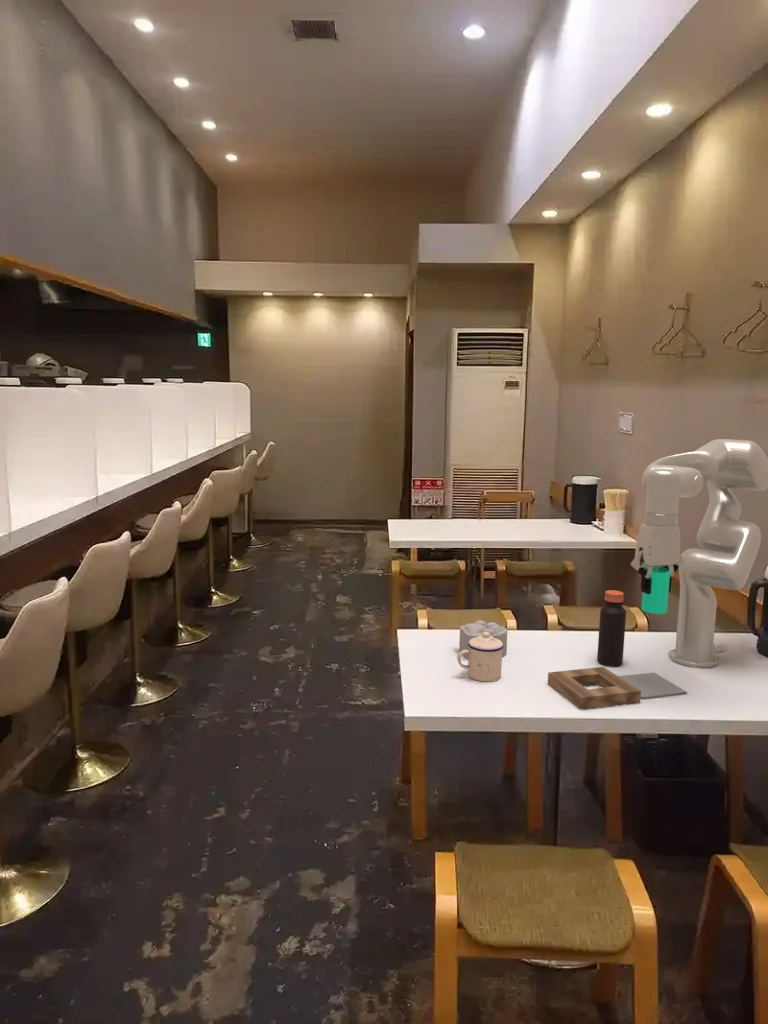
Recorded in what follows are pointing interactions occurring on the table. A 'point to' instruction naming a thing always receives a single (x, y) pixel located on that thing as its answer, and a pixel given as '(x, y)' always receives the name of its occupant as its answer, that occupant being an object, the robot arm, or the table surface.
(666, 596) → the candle
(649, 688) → the mat
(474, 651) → the teacup with lid
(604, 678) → the stand
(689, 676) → the table surface
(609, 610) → the bottle
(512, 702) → the table surface
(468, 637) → the lumpy-topped squat cylinder
